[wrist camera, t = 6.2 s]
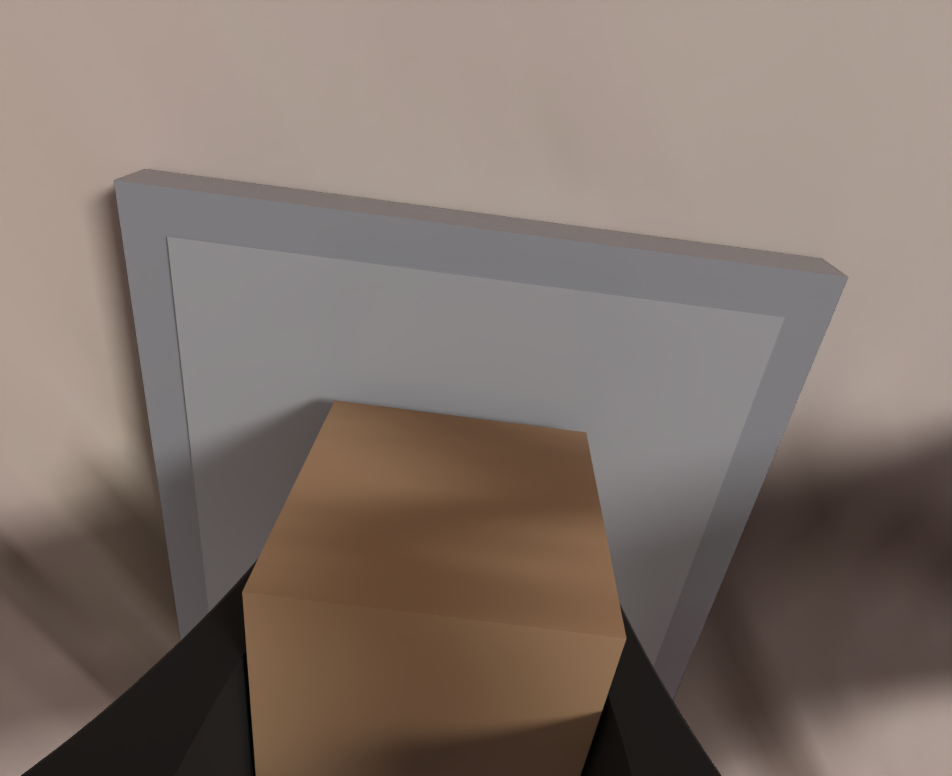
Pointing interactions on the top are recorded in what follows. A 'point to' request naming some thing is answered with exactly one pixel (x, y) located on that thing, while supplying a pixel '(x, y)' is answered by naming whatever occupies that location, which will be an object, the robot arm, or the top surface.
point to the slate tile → (462, 367)
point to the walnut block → (433, 602)
